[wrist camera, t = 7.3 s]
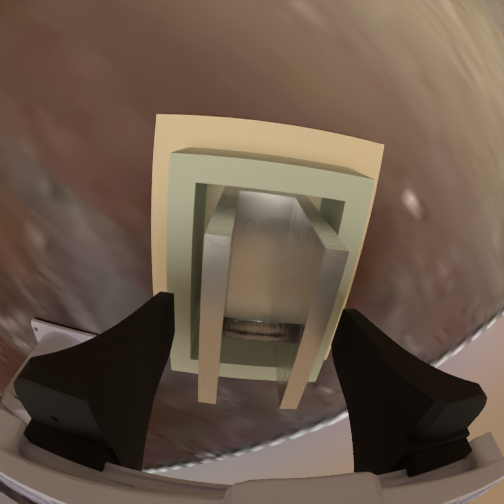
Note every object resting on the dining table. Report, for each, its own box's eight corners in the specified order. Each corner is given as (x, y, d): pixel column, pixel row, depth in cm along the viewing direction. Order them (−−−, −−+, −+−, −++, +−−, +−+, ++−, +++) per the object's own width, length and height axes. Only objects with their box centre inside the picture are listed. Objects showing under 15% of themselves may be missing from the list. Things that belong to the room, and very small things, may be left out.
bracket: (282, 312, 19) (296, 408, 12) (214, 305, 19) (198, 401, 12) (305, 194, 16) (349, 251, 9) (226, 184, 16) (204, 233, 9)
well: (323, 351, 22) (336, 398, 18) (160, 336, 22) (143, 382, 17) (377, 143, 16) (419, 151, 11) (161, 114, 15) (128, 111, 11)
